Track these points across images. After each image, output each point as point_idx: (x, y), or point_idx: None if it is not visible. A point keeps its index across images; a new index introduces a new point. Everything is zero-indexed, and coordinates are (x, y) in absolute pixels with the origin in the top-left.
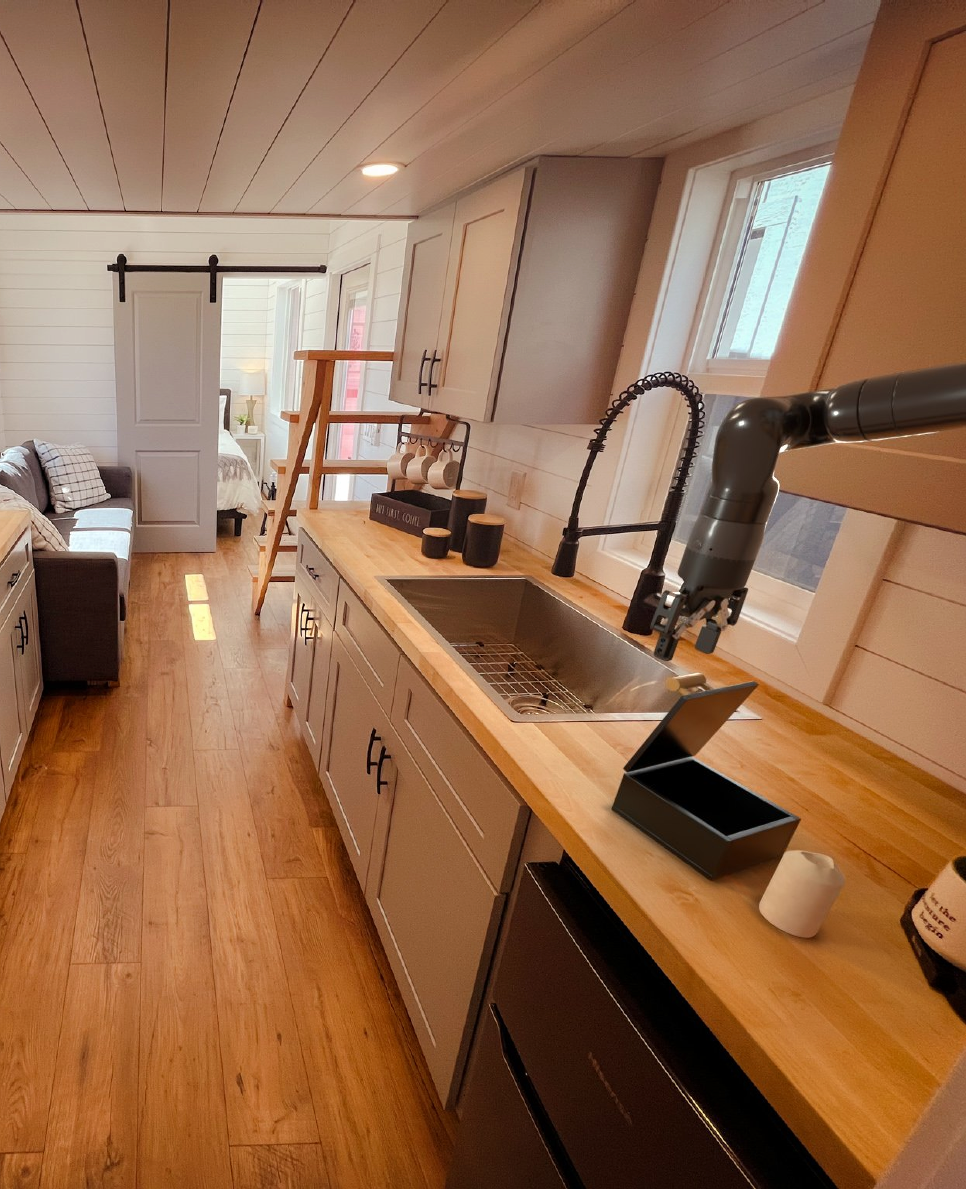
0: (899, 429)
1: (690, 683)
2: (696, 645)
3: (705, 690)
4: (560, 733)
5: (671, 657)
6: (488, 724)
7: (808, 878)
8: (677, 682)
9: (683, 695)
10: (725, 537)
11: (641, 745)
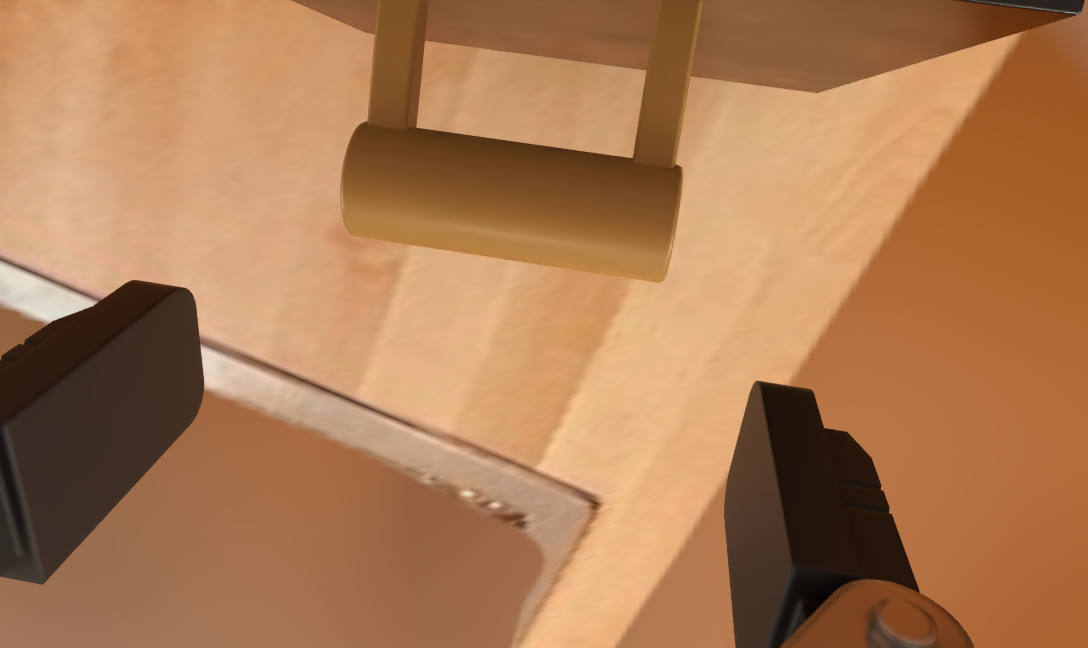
0: None
1: (547, 160)
2: (183, 419)
3: (418, 78)
4: (501, 395)
5: (783, 400)
6: (692, 526)
7: None
8: (676, 209)
9: (1057, 9)
10: None
11: (865, 78)
